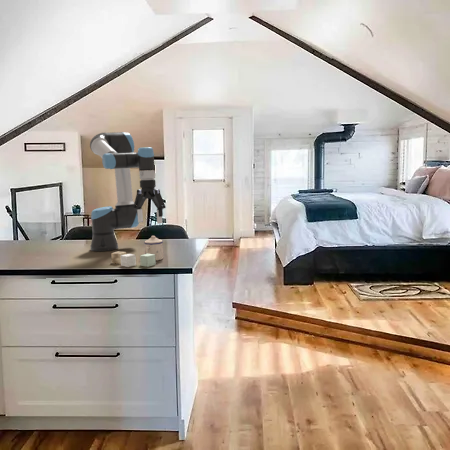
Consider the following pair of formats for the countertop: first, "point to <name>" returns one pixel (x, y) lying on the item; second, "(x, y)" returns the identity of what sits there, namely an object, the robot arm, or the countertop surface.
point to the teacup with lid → (154, 247)
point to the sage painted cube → (147, 260)
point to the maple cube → (117, 257)
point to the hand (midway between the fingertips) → (150, 222)
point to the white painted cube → (128, 260)
